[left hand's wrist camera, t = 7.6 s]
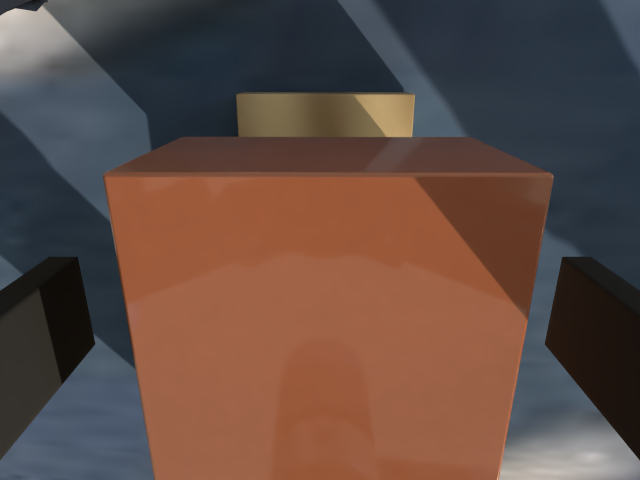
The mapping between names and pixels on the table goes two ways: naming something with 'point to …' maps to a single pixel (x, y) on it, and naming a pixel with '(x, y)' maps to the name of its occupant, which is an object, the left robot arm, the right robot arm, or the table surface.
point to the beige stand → (325, 114)
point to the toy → (20, 5)
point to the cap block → (327, 303)
